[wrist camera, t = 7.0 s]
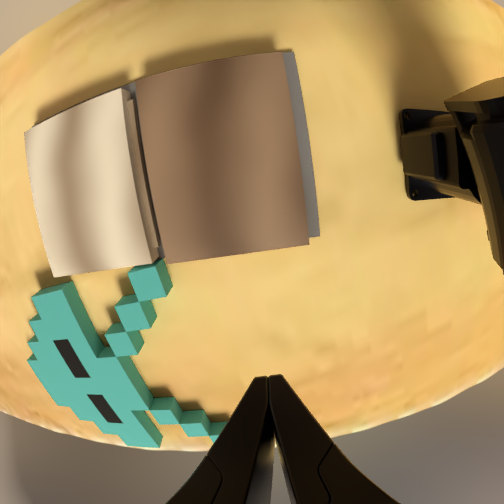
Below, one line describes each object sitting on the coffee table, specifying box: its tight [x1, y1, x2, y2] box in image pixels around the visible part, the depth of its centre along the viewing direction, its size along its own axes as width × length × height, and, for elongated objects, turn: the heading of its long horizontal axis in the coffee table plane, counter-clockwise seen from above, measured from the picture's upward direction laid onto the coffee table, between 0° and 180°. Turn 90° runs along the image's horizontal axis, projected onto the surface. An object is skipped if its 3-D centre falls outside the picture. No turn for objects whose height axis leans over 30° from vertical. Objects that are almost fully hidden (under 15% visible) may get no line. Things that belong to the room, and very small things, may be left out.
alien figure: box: [27, 258, 228, 448], centre depth 23 cm, size 20×2×20 cm
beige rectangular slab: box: [24, 88, 161, 277], centre depth 17 cm, size 9×12×2 cm
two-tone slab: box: [32, 52, 320, 264], centre depth 17 cm, size 20×12×2 cm, turn 98°
